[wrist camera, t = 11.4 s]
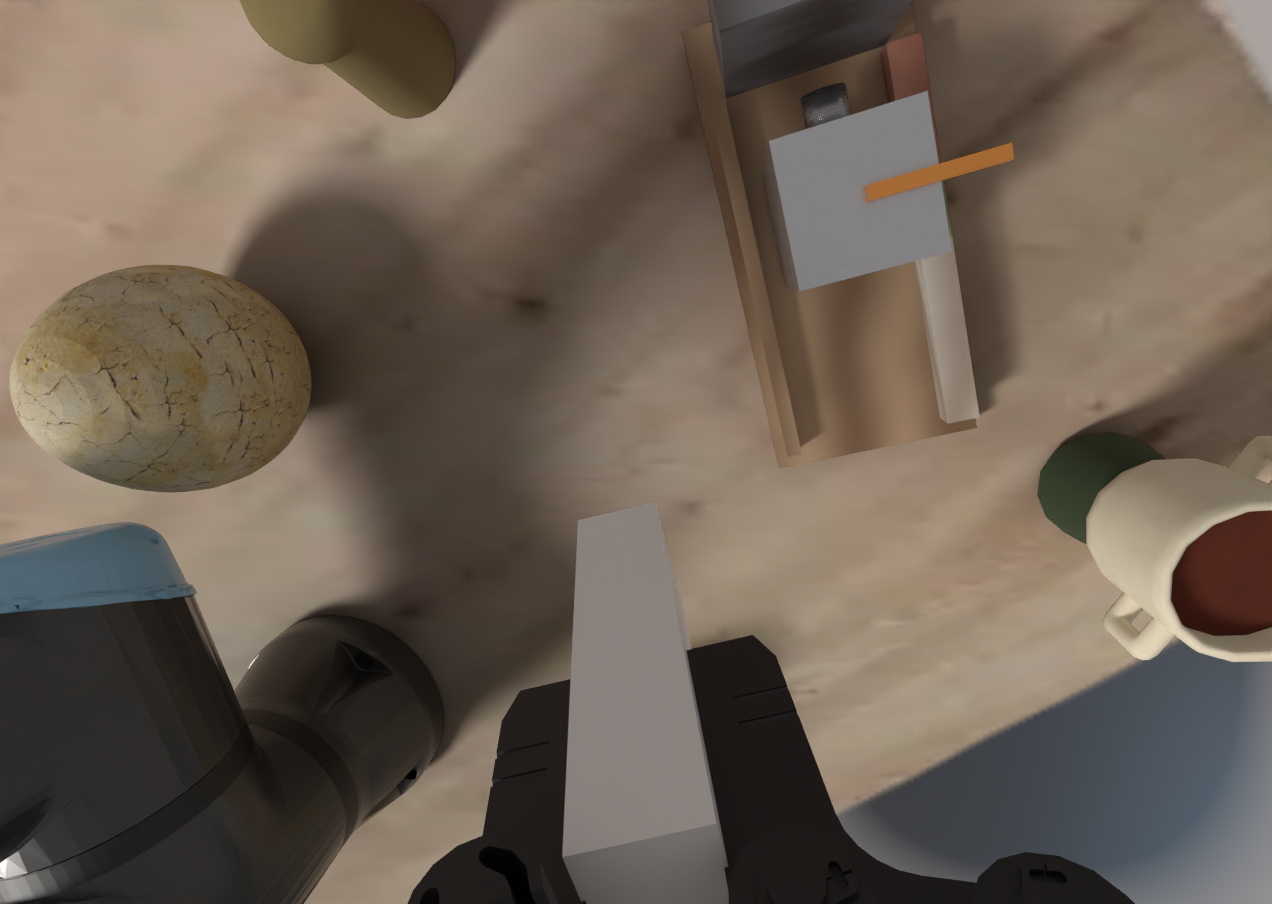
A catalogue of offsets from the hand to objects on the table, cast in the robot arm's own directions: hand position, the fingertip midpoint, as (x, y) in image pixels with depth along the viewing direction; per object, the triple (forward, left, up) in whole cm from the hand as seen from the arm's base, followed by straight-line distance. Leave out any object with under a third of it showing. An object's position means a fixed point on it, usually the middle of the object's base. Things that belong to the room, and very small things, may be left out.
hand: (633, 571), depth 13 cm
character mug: (+20, -12, -28) cm, 36 cm away
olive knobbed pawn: (-13, +21, -28) cm, 38 cm away
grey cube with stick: (+9, +8, -26) cm, 29 cm away
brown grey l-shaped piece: (+8, +5, -28) cm, 30 cm away
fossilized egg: (-29, +7, -28) cm, 41 cm away
